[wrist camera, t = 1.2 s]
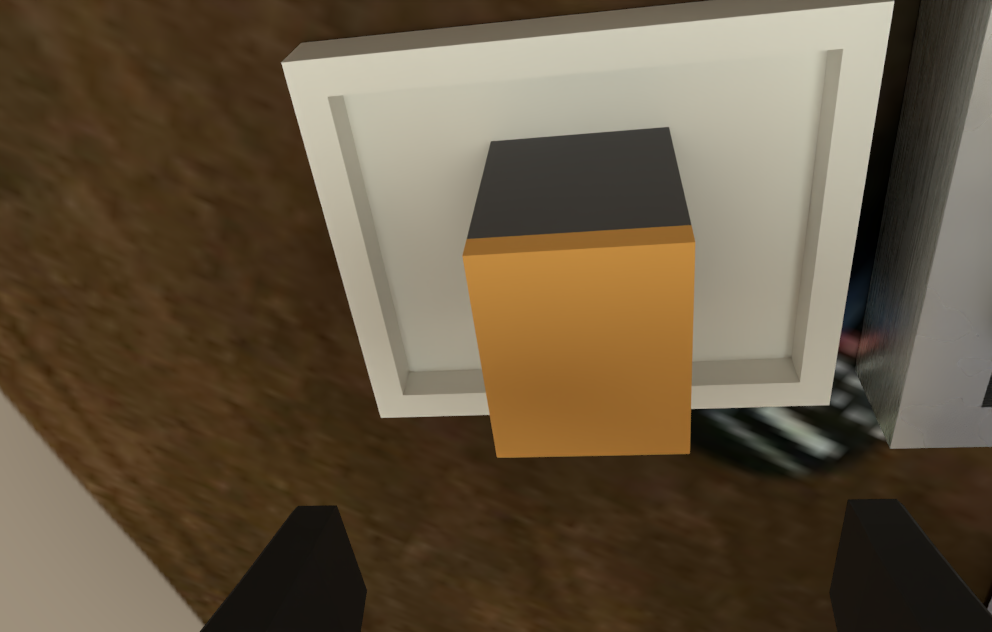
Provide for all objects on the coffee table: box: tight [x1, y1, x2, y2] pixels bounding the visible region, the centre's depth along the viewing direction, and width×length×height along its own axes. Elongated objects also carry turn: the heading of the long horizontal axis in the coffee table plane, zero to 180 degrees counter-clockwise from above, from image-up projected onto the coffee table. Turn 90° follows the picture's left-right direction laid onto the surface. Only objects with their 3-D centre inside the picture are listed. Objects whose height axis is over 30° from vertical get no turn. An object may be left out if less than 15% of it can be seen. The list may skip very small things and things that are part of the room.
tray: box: [281, 0, 894, 418], centre depth 19 cm, size 10×12×1 cm
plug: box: [462, 127, 695, 458], centre depth 17 cm, size 5×4×5 cm
